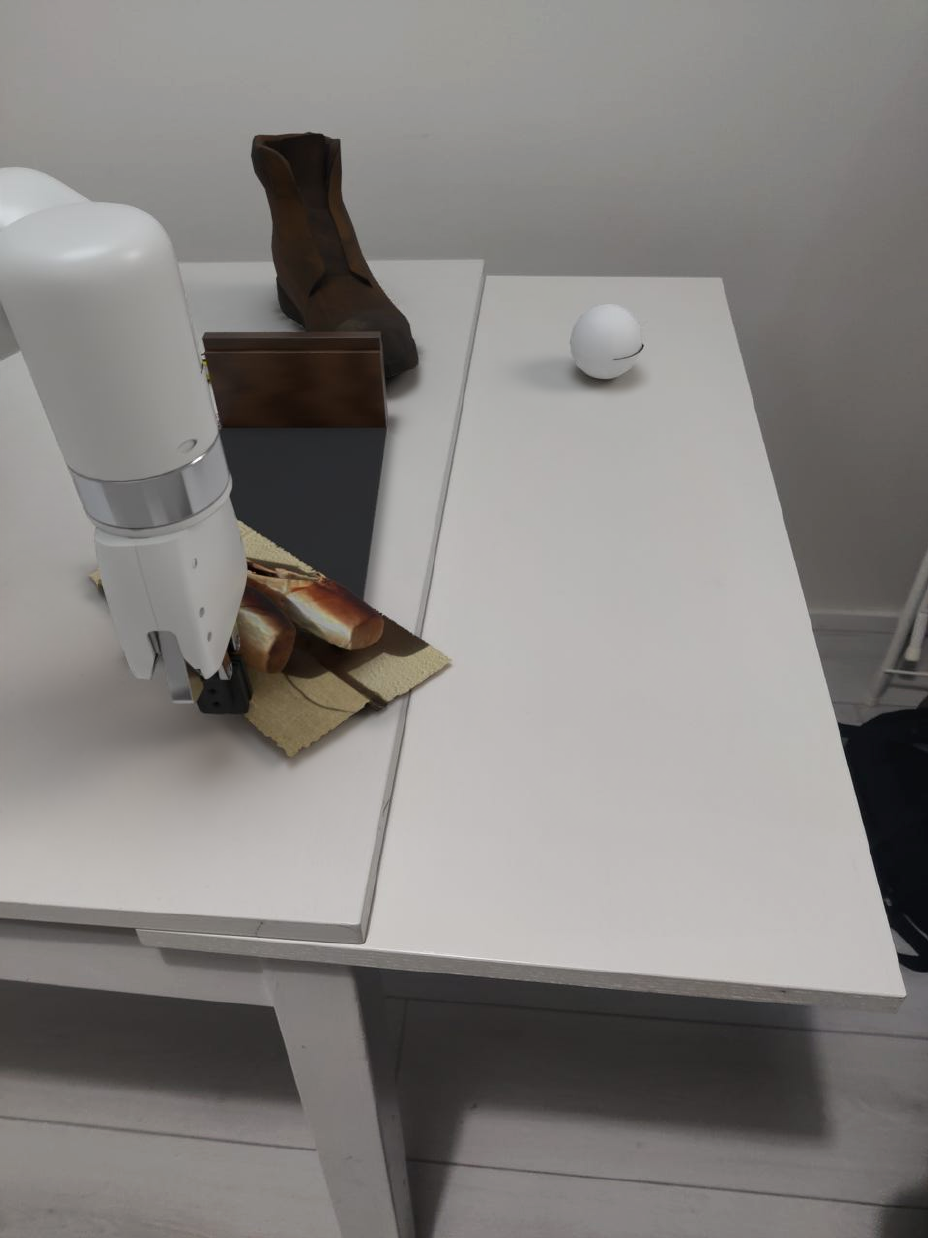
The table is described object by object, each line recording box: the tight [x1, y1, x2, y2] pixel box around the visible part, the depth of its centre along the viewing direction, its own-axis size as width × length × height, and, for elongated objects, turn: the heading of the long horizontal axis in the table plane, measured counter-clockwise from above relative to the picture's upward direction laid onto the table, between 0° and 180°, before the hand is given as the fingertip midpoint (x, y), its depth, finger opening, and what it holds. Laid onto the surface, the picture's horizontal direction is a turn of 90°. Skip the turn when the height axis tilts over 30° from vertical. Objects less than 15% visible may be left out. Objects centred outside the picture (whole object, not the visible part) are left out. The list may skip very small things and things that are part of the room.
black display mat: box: [219, 427, 387, 600], centre depth 74 cm, size 16×30×1 cm, turn 179°
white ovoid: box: [569, 303, 647, 380], centre depth 89 cm, size 10×7×7 cm
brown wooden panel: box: [201, 331, 389, 429], centre depth 82 cm, size 16×2×9 cm, turn 89°
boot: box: [250, 131, 420, 379], centre depth 91 cm, size 11×30×20 cm, turn 27°
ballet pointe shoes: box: [87, 518, 453, 758], centre depth 63 cm, size 14×7×28 cm
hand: (227, 704), depth 57 cm, fingers closed
